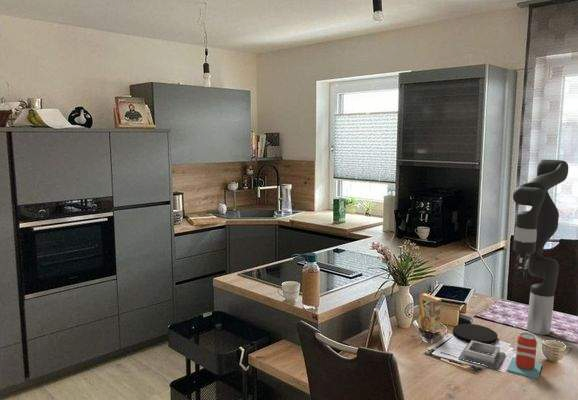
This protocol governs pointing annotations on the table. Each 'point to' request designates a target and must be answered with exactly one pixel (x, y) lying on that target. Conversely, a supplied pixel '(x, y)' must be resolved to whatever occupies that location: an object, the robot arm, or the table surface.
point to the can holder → (481, 358)
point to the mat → (529, 373)
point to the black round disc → (474, 333)
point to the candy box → (429, 312)
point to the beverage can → (526, 351)
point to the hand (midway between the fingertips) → (521, 280)
